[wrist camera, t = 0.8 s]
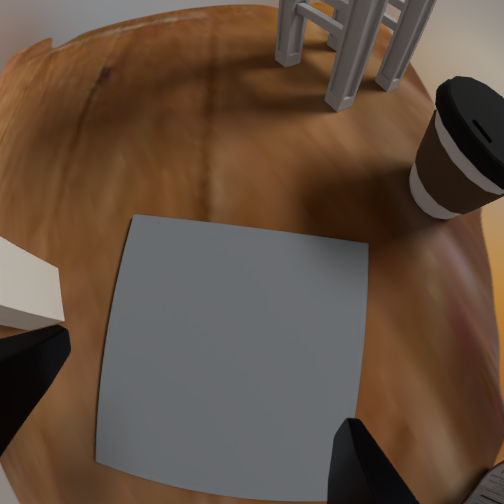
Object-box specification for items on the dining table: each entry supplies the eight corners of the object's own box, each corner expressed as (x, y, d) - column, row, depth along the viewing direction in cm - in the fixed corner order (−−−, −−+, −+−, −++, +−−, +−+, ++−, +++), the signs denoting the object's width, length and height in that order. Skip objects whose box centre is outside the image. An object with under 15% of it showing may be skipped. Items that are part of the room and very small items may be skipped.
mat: (334, 497, 18) (336, 500, 17) (98, 459, 19) (95, 461, 18) (365, 245, 25) (368, 243, 24) (136, 217, 25) (134, 214, 25)
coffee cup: (431, 262, 24) (519, 207, 13) (366, 167, 27) (416, 77, 16) (485, 215, 26) (554, 161, 15) (430, 138, 29) (478, 67, 17)
